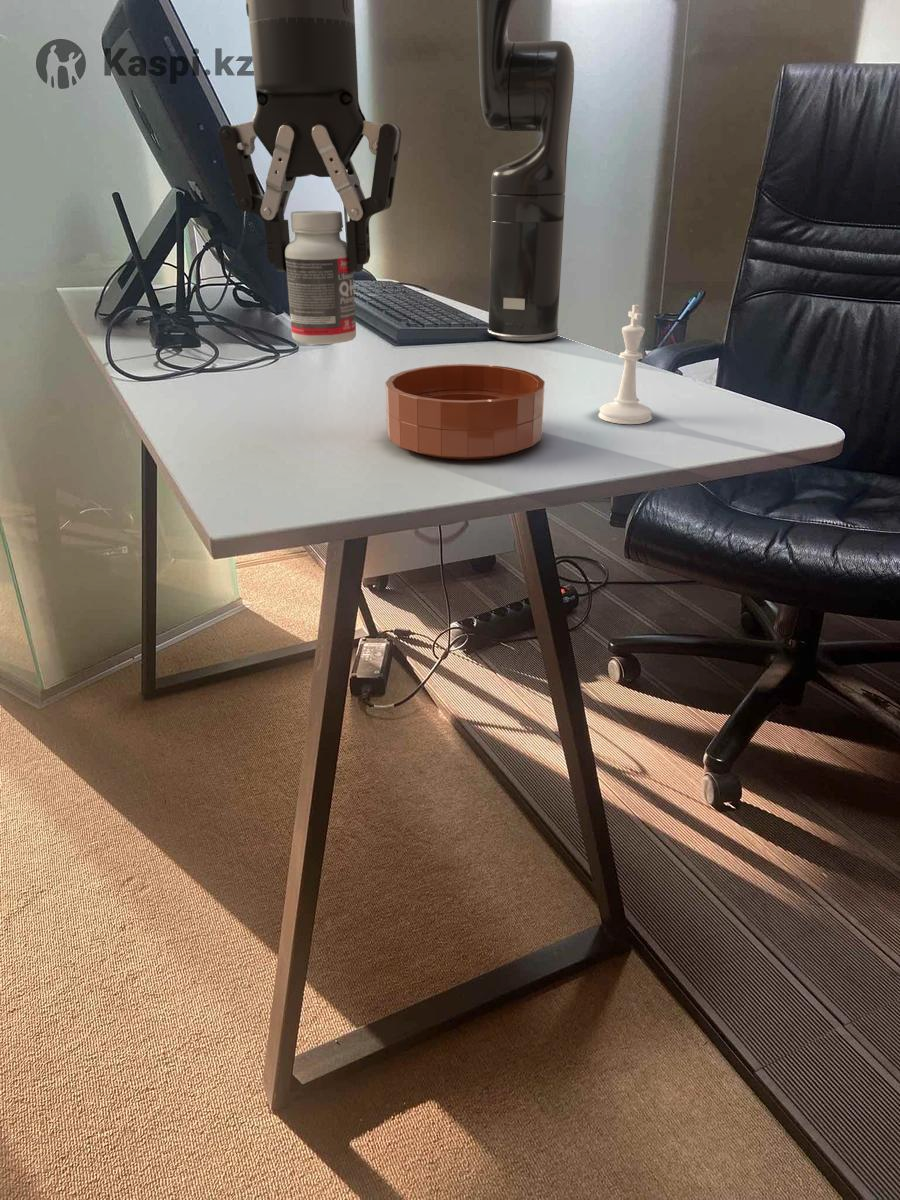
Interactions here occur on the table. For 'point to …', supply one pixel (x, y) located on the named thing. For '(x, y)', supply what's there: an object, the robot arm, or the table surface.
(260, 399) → the table surface
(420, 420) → the bowl
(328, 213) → the pill bottle
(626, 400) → the chess piece
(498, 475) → the table surface
